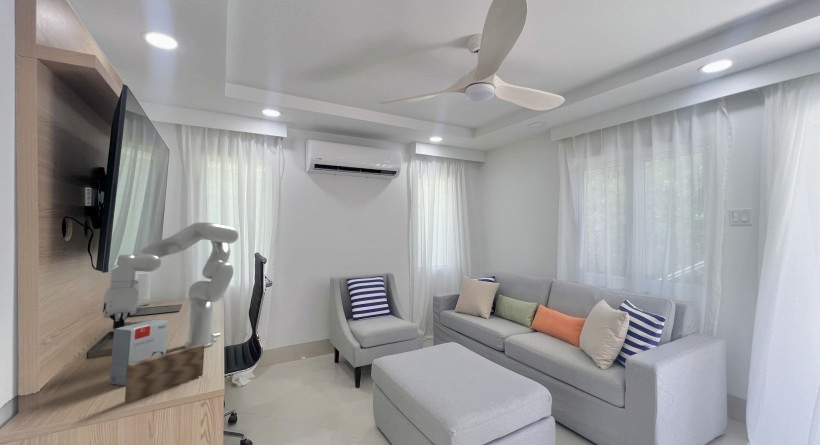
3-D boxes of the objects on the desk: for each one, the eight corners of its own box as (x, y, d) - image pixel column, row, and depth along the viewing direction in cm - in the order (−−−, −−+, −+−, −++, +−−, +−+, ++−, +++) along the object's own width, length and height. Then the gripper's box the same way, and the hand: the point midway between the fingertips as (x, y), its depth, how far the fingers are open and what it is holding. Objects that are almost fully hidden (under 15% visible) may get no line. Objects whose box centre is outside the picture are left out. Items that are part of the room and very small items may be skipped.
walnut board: (198, 374, 129) (200, 343, 129) (202, 376, 128) (204, 344, 128) (124, 401, 107) (127, 364, 108) (128, 403, 106) (131, 365, 106)
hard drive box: (125, 386, 117) (129, 330, 118) (108, 384, 119) (112, 328, 120) (165, 369, 132) (168, 320, 133) (150, 367, 134) (153, 318, 135)
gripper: (139, 282, 142) (135, 325, 141) (94, 285, 129) (89, 333, 127) (148, 283, 139) (144, 327, 138) (103, 287, 125) (99, 336, 124)
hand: (118, 330), depth 133 cm, fingers closed
